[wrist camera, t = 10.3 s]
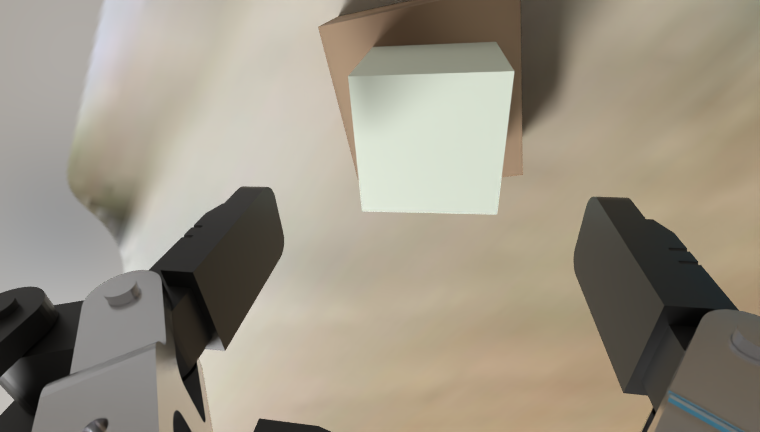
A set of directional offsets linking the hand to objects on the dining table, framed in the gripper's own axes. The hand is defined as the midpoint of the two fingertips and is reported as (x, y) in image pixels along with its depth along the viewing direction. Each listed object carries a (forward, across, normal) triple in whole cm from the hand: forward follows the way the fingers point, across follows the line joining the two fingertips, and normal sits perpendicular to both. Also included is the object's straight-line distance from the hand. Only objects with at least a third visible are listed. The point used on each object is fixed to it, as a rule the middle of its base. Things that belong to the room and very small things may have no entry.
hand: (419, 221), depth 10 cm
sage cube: (+9, 0, 0) cm, 9 cm away
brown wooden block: (+13, 0, 0) cm, 13 cm away
